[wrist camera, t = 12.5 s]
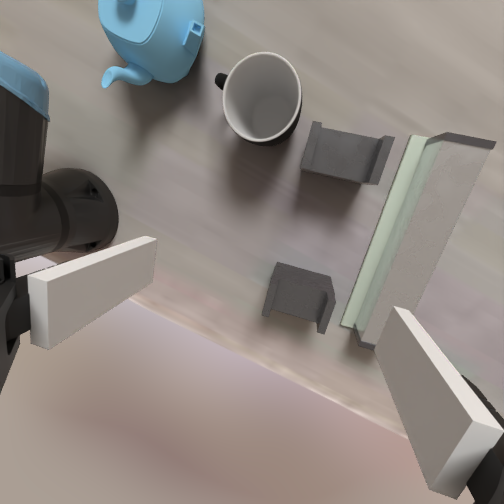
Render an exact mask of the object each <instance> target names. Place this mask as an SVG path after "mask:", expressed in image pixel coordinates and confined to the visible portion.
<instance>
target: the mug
mask: <svg viewBox="0 0 504 504" xmlns="http://www.w3.org/2000/svg"><path fill="white" fill-rule="evenodd" d="M215 83H216V85H217V86H218V87H219V88H220V89H221V90H223V94H222V105H223V111H224V115H225V118H226V120H227V122H228V124H229V125H230V127H231V128H232V130H233V131H234V132H235V133H236V134H237V135H239V136H240V137H241V138H243V139H244V140H246V141H248V142H251V143H253V144H256V145H261V146H273V145H277V144H279V143H281V142H283V141H285V140H286V139H287V138H288V137H289V136H290V135H291V134H292V133H293V131H294V129H295V128H296V126H297V123H298V121H299V117H300V113H301V107H302V89H301V84H300V80H299V77H298V75H297V72H296V71H295V69H294V68H293V66H292V65H291V64H290V63H289V62H288V61H287V60H286V59H285V58H283V57H282V56H280V55H278V54H275V53H271V52H258V53H254V54H251V55H249V56H247V57H245V58H243V59H242V60H241V61H239V62H238V63H237V64H236V65H235V66H234V68H233V69H232V70H231V72H230V73H229V75H225V74H223V73H218V74H217V76H216V78H215Z"/></svg>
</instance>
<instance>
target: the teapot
mask: <svg viewBox="0 0 504 504" xmlns="http://www.w3.org/2000/svg"><path fill="white" fill-rule="evenodd" d="M98 12H99V19H100V22H101V25H102V27H103V29H104V31H105V33H106V35H107V37H108V39H109V41H110V43H111V44H112V46H113V47H114V49H115V50H116V52H117V53H118V54H119V55H120V56H121V57H122V58H123V59H124V60H125V61H126V62H127V63H128V65H127V66H126V67H125V68H121V67H117V66H113V67H110V68H108V69H107V70H106V72H105V73H104V75H103V78H102V82H101V85H102V87H103V88H107V87H109V86H110V85H111V84H112V83H113V82H114V81H116V80H122V81H125V82H128V83H130V84H134V85H145V84H147V83H149V82H150V81H151V80H152V79H154V80H157V81H161V82H165V83H174V82H177V81H179V80H181V79H182V78H183V77H186V76H187V75H188V74H189V71H190V68H191V66H192V64H193V62H194V61H195V58H196V56H197V54H198V51H199V48H200V45H201V42H202V39H203V37H204V30H205V26H204V7H203V1H202V0H98Z"/></svg>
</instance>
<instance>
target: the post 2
mask: <svg viewBox="0 0 504 504" xmlns="http://www.w3.org/2000/svg"><path fill="white" fill-rule="evenodd" d="M321 124H322V123H321V122H316V121H313V123H312V126H311V130H310V134H309V137H308V141H307V145H306V149H305V152H304V156H303V160H302V164H301V168H300V169H301V171H305V172H310V173H314V174H319V175H323V176H327V177H332V178H336V179H341V180H345V181H350V182H354V183H358V184H367V185H378V183H379V181H380V178H381V175H382V172H383V169H384V167H385V164H386V161H387V158H388V155H389V153H390V150H391V147H392V144H393V141H394V139H395V137H391V136H386V135H385V136H383V137H382V138H380V139H376V138H371V137H366V136H362V135H357V134H352V133H347V132H342V131H337V130H332V129H327V128H322V127H321Z"/></svg>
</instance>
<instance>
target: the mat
mask: <svg viewBox="0 0 504 504" xmlns="http://www.w3.org/2000/svg"><path fill="white" fill-rule="evenodd" d="M427 139H429V138H428V137H423V136H418V135H410V138H409V141H408V143H407V146H406V149H405V151H404V154H403V157H402V159H401V162H400V165H399V168H398V170H397V173H396V176H395V178H394V181H393V184H392V186H391V189H390V192H389V194H388V197H387V200H386V202H385V205H384V208H383V210H382V213H381V216H380V218H379V221H378V224H377V226H376V229H375V232H374V234H373V237H372V240H371V242H370V245H369V248H368V250H367V253H366V256H365V258H364V261H363V264H362V266H361V269H360V272H359V274H358V277H357V280H356V282H355V285H354V288H353V291H352V293H351V296H350V299H349V301H348V304H347V307H346V309H345V312H344V315H343V317H342V320H341V325H343V326H347V327H350V328H353V325H354V323H355V322H356V319H357V317H358V314H359V312H360V309H361V307H362V304H363V302H364V299H365V297H366V294H367V292H368V289H369V287H370V284H371V282H372V279H373V277H374V274H375V272H376V269H377V267H378V264H379V261H380V259H381V256H382V254H383V251H384V249H385V246H386V244H387V241H388V239H389V236H390V234H391V231H392V229H393V226H394V224H395V221H396V219H397V216H398V214H399V211H400V208H401V206H402V203H403V201H404V198H405V196H406V193H407V191H408V188H409V186H410V183H411V181H412V178H413V176H414V173H415V171H416V168H417V166H418V163H419V161H420V158H421V155H422V153H423V150H424V148H425V143H426V141H427Z"/></svg>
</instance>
